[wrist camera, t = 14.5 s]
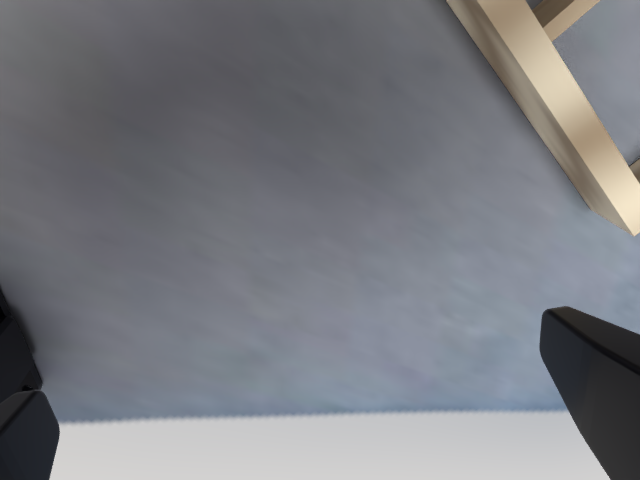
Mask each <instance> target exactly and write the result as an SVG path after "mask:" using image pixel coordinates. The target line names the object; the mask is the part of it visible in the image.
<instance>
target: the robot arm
mask: <svg viewBox="0 0 640 480" xmlns="http://www.w3.org/2000/svg"><path fill="white" fill-rule="evenodd" d="M540 354H541V357H542V360H543V362H544V364H545V366H546V368H547V369H548V371H549V373H550V375H551V377H552V379H553V381H554V383H555V385H556V387H557V389H558V391H559V393H560V395H561V397H562V399H563V401H564V403H565V405H566V407H567V409H568V410H569V412H570V414H571V416H572V418H573V420H574V422H575V424H576V426H577V428H578V429H579V431H580V433H581V434H582V436H583V438H584V439H585V441H586V443H587V444H588V445H589V447H590V449H591V450H592V452H593V453H594V455H595V456H596V458H597V459H598V461H599V462H600V464H601V466H602V467H603V469H604V470H605V472H606V473H607V475H608V476H609V478H610V479H611V480H640V335H639V334H637V333H634V332H632V331H629V330H627V329H624V328H622V327H619V326H617V325H614V324H612V323H609V322H606V321H604V320H601V319H599V318H596V317H594V316H591V315H589V314H586V313H584V312H581V311H579V310H576V309H573V308H571V307H567V306H564V307H557V308H551V309H547V310H545V311H544V312H543V315H542V321H541V333H540ZM26 385H29V386H31V387H32V388H29V387H27V386H26ZM41 388H42V381H41V379H40V377H39V375H38V373H37V371H36V368H35V366H34V360H33V358H32V355H31V353H30V351H29V349H28V347H27V344H26V342H25V340H24V338H23V336H22V333H21V331H20V329H19V327H18V325H17V322H16V320H15V319H14V318H13V317H12V316H11V314H10V311H9V309H8V307H7V305H6V303H5V300H4V298H3V296H2V294H1V292H0V480H49V478H50V473H51V469H52V465H53V461H54V457H55V453H56V449H57V445H58V440H59V434H60V433H59V432H60V431H59V424H58V421H57V419H56V417H55V415H54V413H53V411H52V408H51V406H50V404H49V402H48V400H47V397H46V396H45V394H44V393H43V392H42V391H41Z"/></svg>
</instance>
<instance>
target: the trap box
mask: <svg viewBox="0 0 640 480" xmlns="http://www.w3.org/2000/svg"><path fill="white" fill-rule="evenodd" d="M599 1H600V0H446V2H447V3H448V4H449V6H450V7H451V9H452V10H453V12H454V13H455V14H456V16H457V17H458V19H459V20H460V22H461V23H462V25H463V26H464V27H465V29H466V30H467V32H468V33H469V35H470V36H471V38H472V39H473V40H474V42H475V43H476V45H477V46H478V48H479V49H480V51H481V52H482V53H483V55H484V56H485V58H486V59H487V61H488V62H489V64H490V65H491V66H492V68H493V69H494V71H495V72H496V74H497V75H498V77H499V78H500V79H501V81H502V82H503V84H504V85H505V87H506V88H507V90H508V91H509V92H510V94H511V95H512V97H513V98H514V100H515V101H516V103H517V104H518V105H519V107H520V108H521V110H522V111H523V113H524V114H525V116H526V117H527V118H528V120H529V121H530V123H531V124H532V126H533V127H534V129H535V130H536V131H537V133H538V134H539V136H540V137H541V139H542V140H543V142H544V143H545V144H546V146H547V147H548V149H549V150H550V152H551V153H552V155H553V156H554V157H555V159H556V160H557V162H558V163H559V165H560V166H561V168H562V169H563V170H564V172H565V173H566V175H567V176H568V178H569V179H570V181H571V182H572V183H573V185H574V186H575V188H576V189H577V191H578V192H579V194H580V195H581V196H582V198H583V199H584V201H585V202H586V204H587V205H588V206H589V208H590V209H591V210H592V211H594V212H595V213H597V214H598V215H600V216H602V217H603V218H605V219H606V220H608V221H610V222H611V223H613V224H615V225H616V226H618V227H619V228H621V229H623V230H624V231H626V232H627V233H629V234H631V235H632V236H636V235H637V234H638V233H640V159H639V160H637V161H636V162H635V163H633V164H632V165H631V166H630V167H629V166H628V165H627V163H626V161H625V160H624V158H623V157H622V155H621V153H620V152H619V150H618V149H617V147H616V145H615V144H614V142H613V141H612V139H611V137H610V136H609V134H608V132H607V131H606V129H605V128H604V126H603V124H602V123H601V121H600V120H599V118H598V116H597V115H596V113H595V112H594V110H593V108H592V107H591V105H590V104H589V102H588V100H587V99H586V97H585V96H584V94H583V92H582V91H581V89H580V87H579V86H578V84H577V83H576V81H575V79H574V78H573V76H572V75H571V73H570V71H569V70H568V68H567V67H566V65H565V63H564V62H563V60H562V59H561V57H560V55H559V54H558V52H557V50H556V49H555V47H554V46H553V44H552V41H553V40H555V39H556V38H557V37H558V36H559V35H560V34H562V33H563V32H564V31H565V30H566V29H567V28H569V27H570V26H571V25H572V24H573V23H574V22H576V21H577V20H578V19H579V18H580V17H581V16H583V15H584V14H585V13H586V12H587V11H588V10H590V9H591V8H592V7H593V6H594V5H595V4H597V3H598V2H599Z"/></svg>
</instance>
